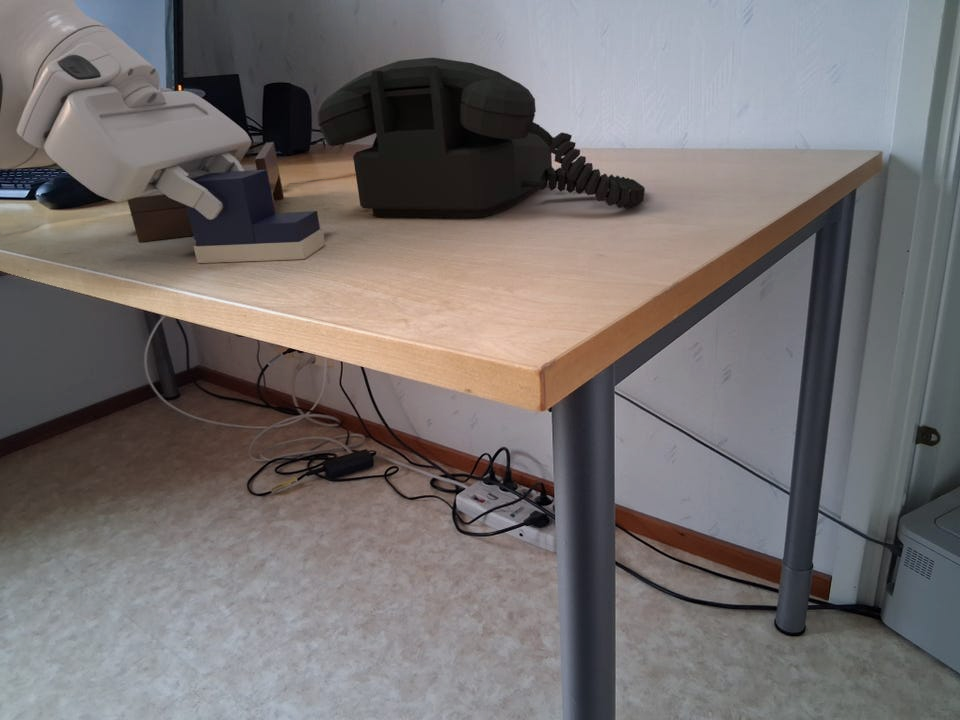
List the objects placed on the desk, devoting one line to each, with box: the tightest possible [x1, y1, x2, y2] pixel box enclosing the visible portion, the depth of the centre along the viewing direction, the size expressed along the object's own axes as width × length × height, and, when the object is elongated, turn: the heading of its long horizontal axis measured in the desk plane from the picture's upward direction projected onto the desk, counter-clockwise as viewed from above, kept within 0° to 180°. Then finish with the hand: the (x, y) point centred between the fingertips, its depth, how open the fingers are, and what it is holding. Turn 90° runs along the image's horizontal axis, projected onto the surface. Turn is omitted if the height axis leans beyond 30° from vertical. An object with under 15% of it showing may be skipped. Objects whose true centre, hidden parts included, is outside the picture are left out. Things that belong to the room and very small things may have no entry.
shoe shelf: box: [126, 141, 285, 243], centre depth 80 cm, size 14×20×7 cm
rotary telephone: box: [317, 56, 646, 219], centre depth 74 cm, size 33×22×15 cm, turn 65°
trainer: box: [186, 170, 326, 264], centre depth 61 cm, size 10×5×7 cm, turn 81°
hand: (238, 205), depth 61 cm, fingers closed on trainer, 5 cm apart
